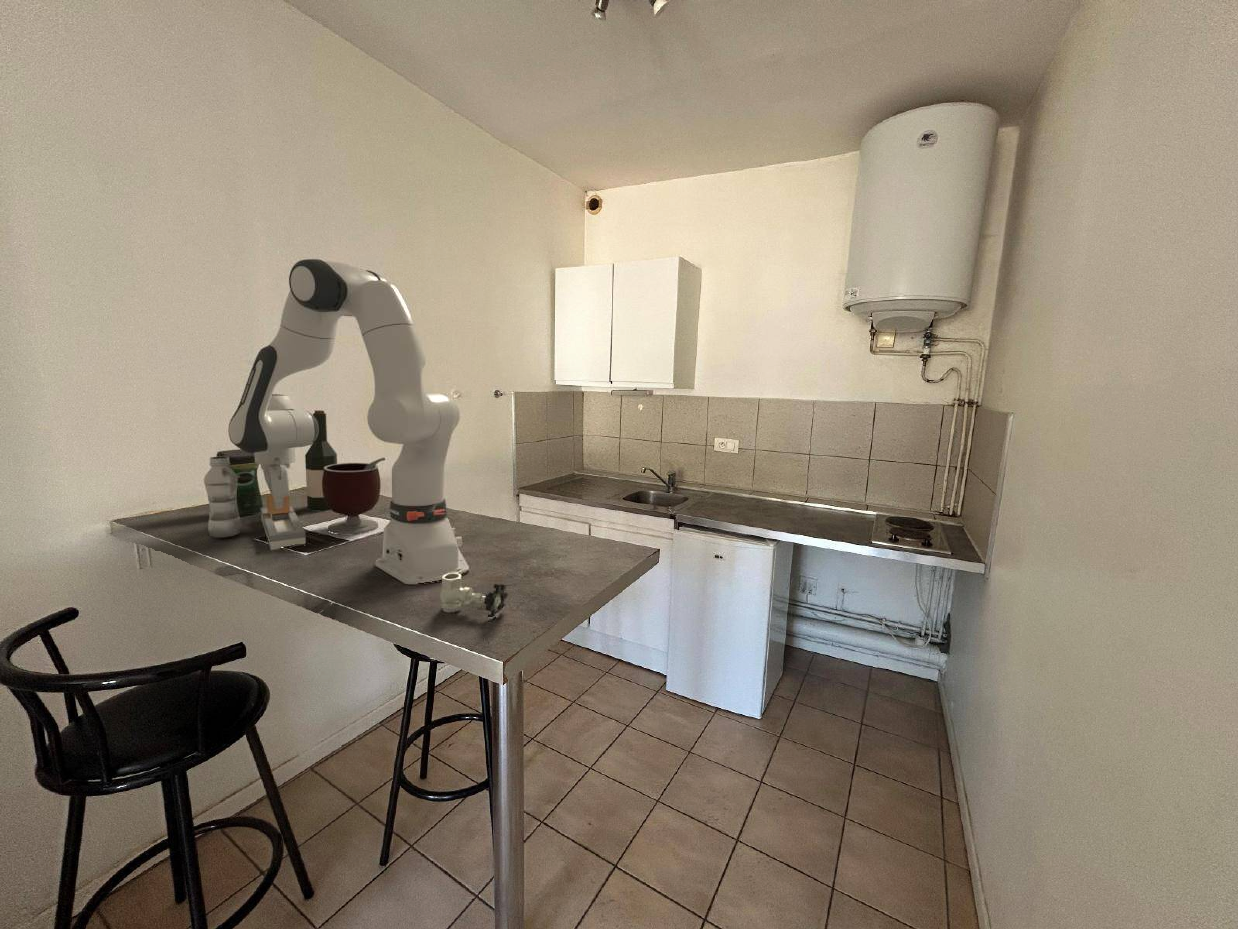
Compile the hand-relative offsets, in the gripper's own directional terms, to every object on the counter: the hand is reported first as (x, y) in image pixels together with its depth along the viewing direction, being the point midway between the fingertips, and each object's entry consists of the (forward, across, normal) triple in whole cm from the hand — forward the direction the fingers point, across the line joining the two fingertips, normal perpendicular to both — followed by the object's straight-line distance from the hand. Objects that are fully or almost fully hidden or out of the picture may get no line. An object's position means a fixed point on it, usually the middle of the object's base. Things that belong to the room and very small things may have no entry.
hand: (277, 506), depth 132 cm
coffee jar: (+6, +18, +7) cm, 20 cm away
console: (+5, -6, 0) cm, 8 cm away
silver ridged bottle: (+6, -4, +11) cm, 13 cm away
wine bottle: (+6, +15, -13) cm, 20 cm away
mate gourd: (+6, -11, -17) cm, 21 cm away
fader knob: (+3, 0, 0) cm, 3 cm away
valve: (+6, -74, -23) cm, 77 cm away
